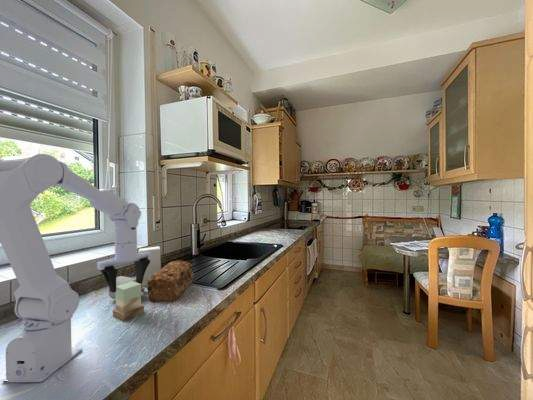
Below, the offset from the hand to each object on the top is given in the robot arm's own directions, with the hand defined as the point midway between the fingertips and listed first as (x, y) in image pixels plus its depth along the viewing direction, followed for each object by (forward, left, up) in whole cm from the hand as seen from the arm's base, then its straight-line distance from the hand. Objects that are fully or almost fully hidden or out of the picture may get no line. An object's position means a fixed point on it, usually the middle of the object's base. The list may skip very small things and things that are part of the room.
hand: (126, 287), depth 68 cm
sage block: (0, 0, -3) cm, 3 cm away
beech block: (0, 0, -6) cm, 7 cm away
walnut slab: (0, 0, -9) cm, 9 cm away
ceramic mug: (+13, +8, -9) cm, 17 cm away
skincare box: (+26, +7, -9) cm, 28 cm away
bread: (+18, -6, -9) cm, 21 cm away
